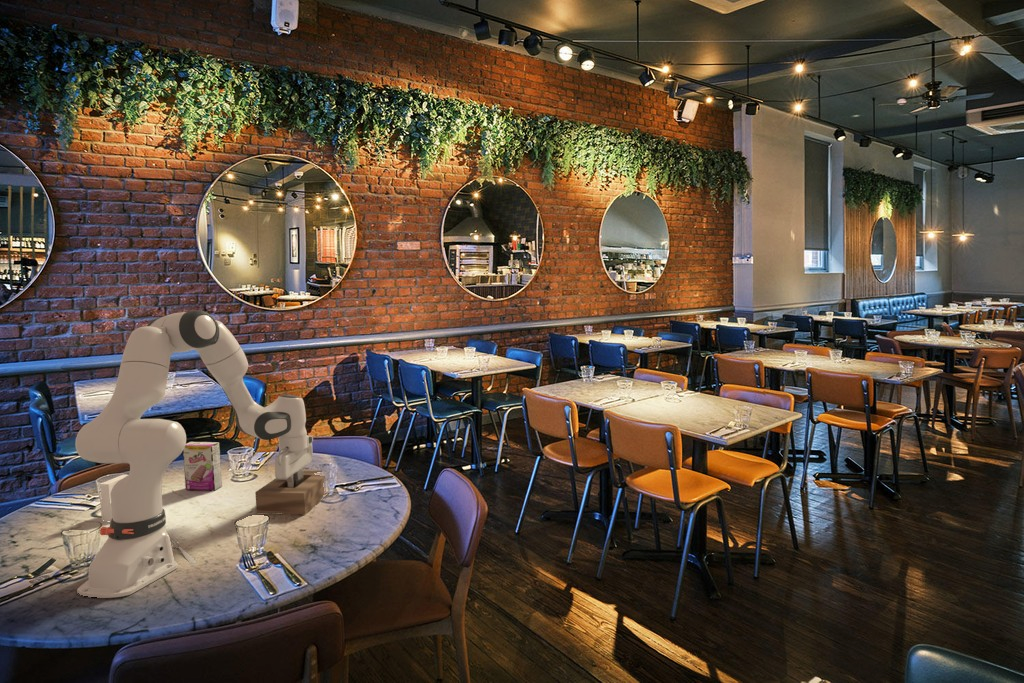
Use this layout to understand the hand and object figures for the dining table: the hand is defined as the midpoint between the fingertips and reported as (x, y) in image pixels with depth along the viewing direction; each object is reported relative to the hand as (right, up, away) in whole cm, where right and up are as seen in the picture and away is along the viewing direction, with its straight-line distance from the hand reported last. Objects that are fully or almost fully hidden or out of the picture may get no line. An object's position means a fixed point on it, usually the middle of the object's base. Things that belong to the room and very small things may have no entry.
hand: (295, 483), depth 205 cm
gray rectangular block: (0, -3, 0) cm, 3 cm away
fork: (-18, -11, -36) cm, 42 cm away
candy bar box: (-38, -5, +15) cm, 41 cm away
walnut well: (0, -6, +1) cm, 6 cm away
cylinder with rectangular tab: (-52, -8, -10) cm, 54 cm away
